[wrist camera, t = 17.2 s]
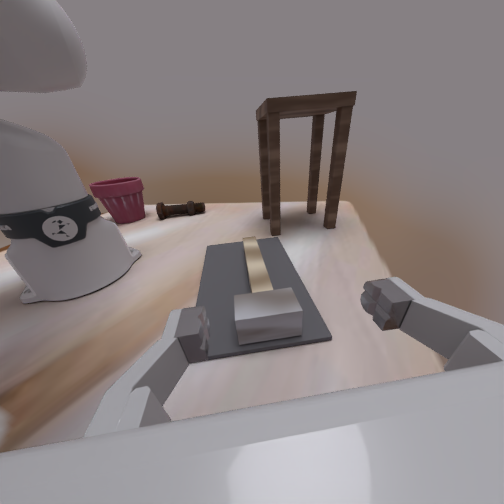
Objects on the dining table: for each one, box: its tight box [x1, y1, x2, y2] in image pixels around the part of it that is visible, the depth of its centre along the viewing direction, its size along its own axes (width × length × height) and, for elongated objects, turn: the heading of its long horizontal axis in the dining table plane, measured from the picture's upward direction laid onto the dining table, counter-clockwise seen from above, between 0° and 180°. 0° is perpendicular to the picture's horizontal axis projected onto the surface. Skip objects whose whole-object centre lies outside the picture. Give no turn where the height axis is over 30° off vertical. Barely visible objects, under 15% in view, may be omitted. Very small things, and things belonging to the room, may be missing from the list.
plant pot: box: [89, 177, 145, 224], centre depth 63 cm, size 14×14×13 cm
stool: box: [256, 91, 357, 236], centre depth 45 cm, size 14×16×26 cm
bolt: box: [156, 201, 205, 220], centre depth 64 cm, size 6×5×15 cm
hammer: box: [234, 237, 303, 345], centre depth 30 cm, size 22×7×4 cm, turn 6°
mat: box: [196, 237, 332, 360], centre depth 32 cm, size 26×16×1 cm, turn 7°
